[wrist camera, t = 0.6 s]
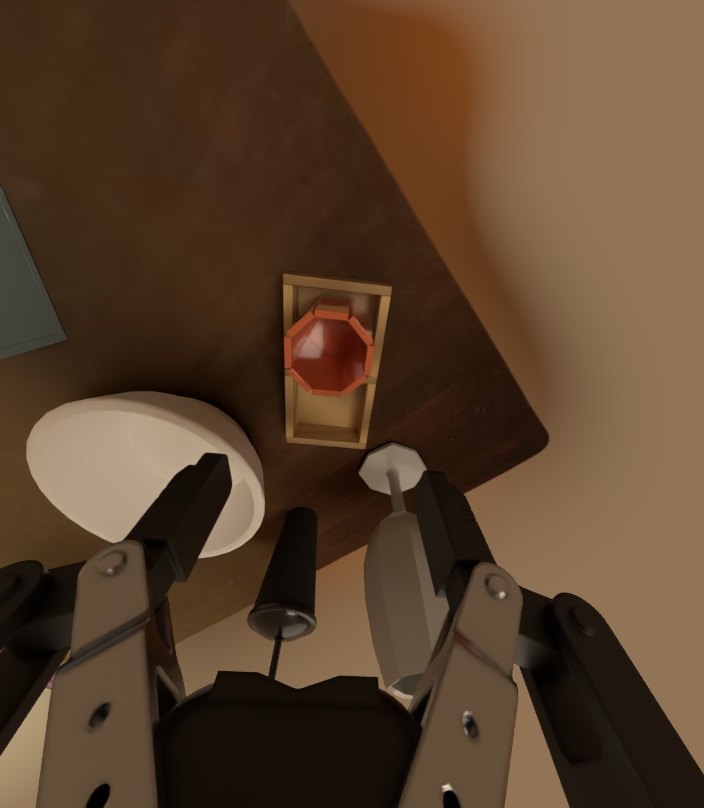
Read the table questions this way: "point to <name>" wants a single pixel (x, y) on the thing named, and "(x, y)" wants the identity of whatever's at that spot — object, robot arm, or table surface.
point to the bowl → (141, 462)
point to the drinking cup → (288, 585)
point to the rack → (346, 414)
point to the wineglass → (399, 575)
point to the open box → (22, 294)
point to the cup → (330, 347)
